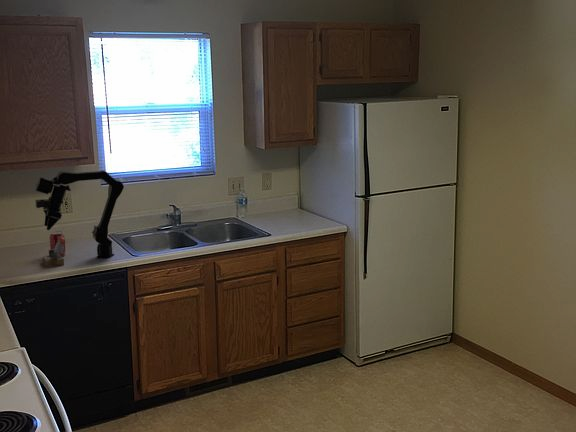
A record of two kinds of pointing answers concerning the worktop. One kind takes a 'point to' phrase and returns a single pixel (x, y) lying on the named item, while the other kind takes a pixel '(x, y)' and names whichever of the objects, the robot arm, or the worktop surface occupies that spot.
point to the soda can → (54, 240)
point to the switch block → (53, 259)
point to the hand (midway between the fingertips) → (46, 227)
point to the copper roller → (59, 245)
